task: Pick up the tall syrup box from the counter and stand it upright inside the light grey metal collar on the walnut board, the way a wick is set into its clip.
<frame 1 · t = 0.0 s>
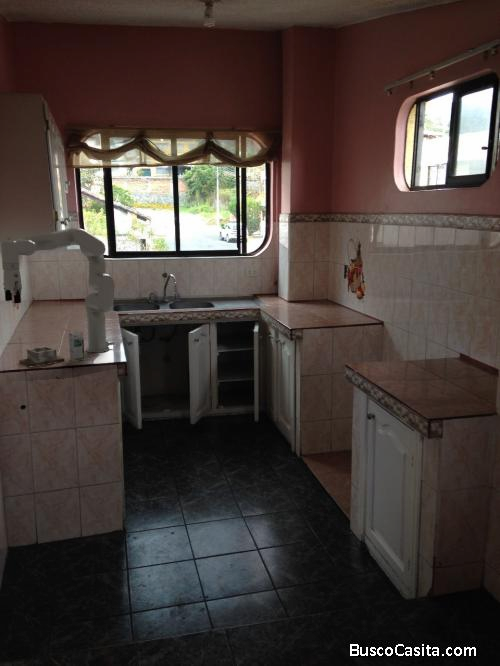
hand: (13, 301, 289), 31 cm above the counter, tool pointing down, fingers open, 9 cm apart
syrup box: (77, 360, 305), on the counter
collar stand: (42, 362, 300), on the counter
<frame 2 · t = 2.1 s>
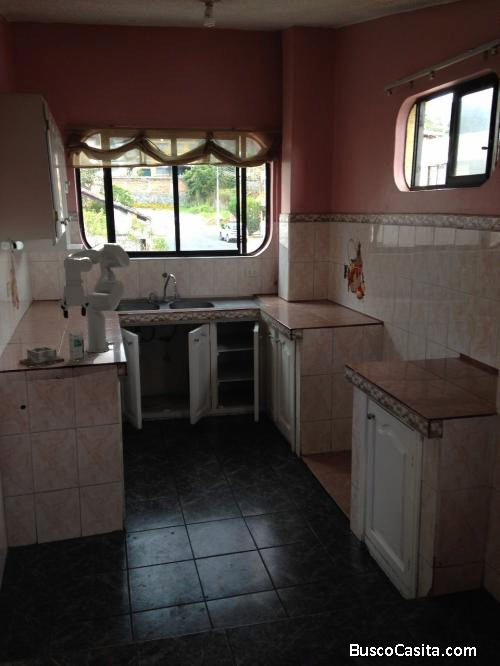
hand: (75, 317, 300), 22 cm above the counter, tool pointing down, fingers open, 9 cm apart
nothing on the counter moved.
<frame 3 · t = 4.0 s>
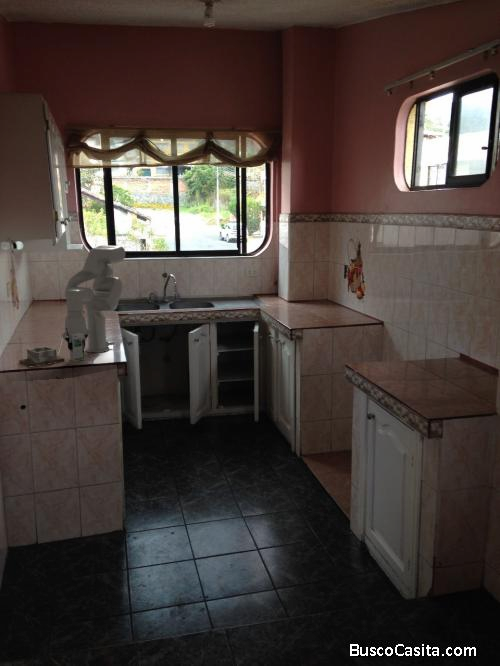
hand: (76, 348, 304), 6 cm above the counter, tool pointing down, fingers closed on syrup box, 6 cm apart
syrup box: (77, 360, 305), on the counter, touching gripper
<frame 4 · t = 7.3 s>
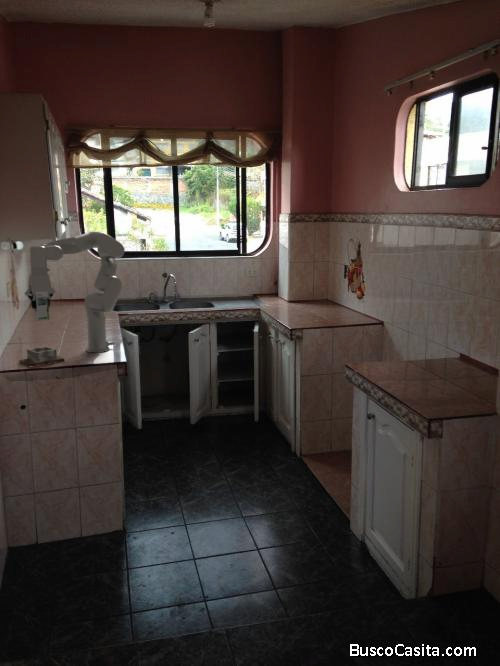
hand: (40, 307, 295), 28 cm above the counter, tool pointing down, fingers closed on syrup box, 6 cm apart
syrup box: (41, 320, 296), point 21 cm above the counter, touching gripper
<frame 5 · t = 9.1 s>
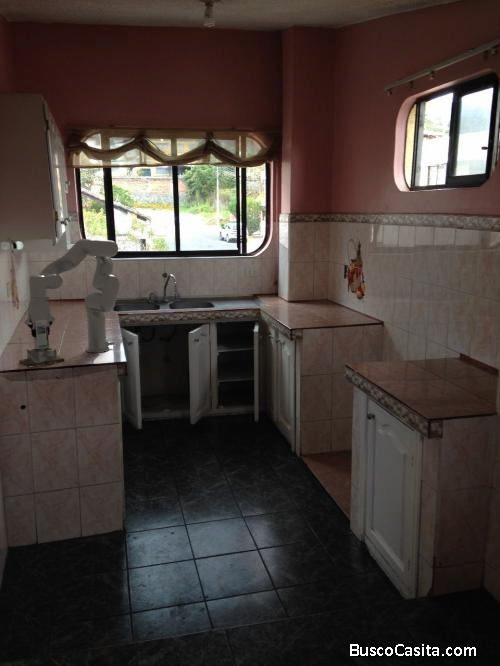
hand: (40, 335, 297), 14 cm above the counter, tool pointing down, fingers closed on syrup box, 6 cm apart
syrup box: (41, 347, 298), point 7 cm above the counter, touching gripper
when the fingers open (9 cm above the counter, at t = 10.6 s): syrup box drops 1 cm, resting on collar stand.
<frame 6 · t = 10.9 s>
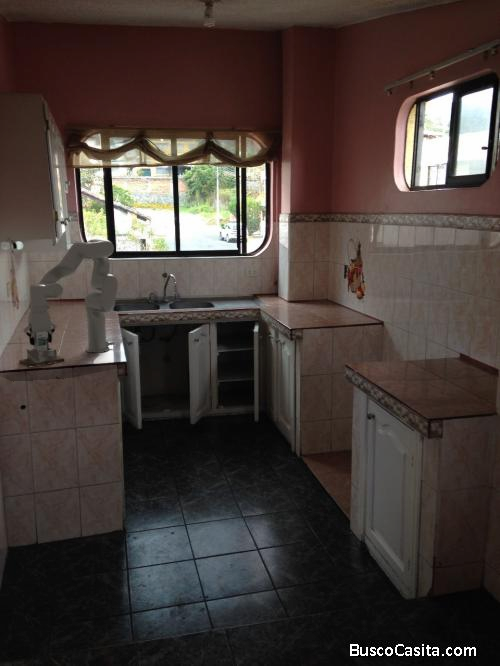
hand: (41, 343, 298), 10 cm above the counter, tool pointing down, fingers open, 8 cm apart
syrup box: (42, 359, 300), point 1 cm above the counter, touching collar stand
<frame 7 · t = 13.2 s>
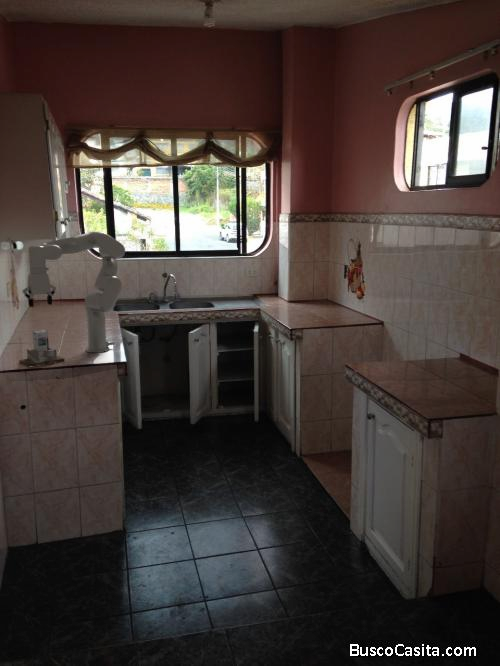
hand: (40, 305, 296), 29 cm above the counter, tool pointing down, fingers open, 9 cm apart
nothing on the counter moved.
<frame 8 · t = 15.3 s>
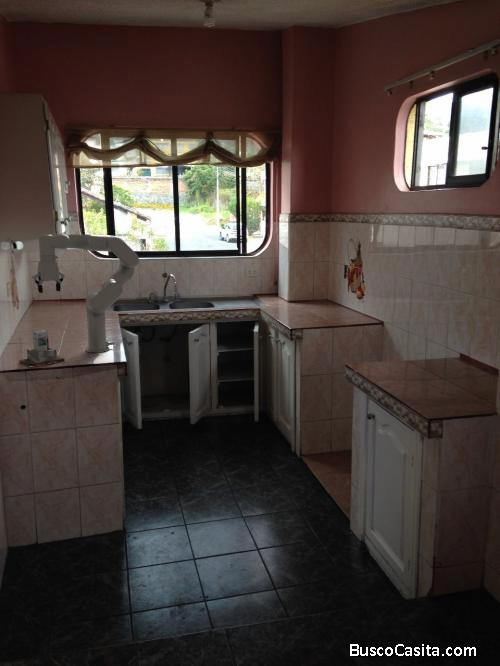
hand: (49, 291, 310), 33 cm above the counter, tool pointing down, fingers open, 9 cm apart
nothing on the counter moved.
at the end: syrup box 0.1 cm off-centre on the collar stand, point 1.3 cm above the collar stand's base; syrup box tilted 0°; the gripper is holding nothing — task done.
